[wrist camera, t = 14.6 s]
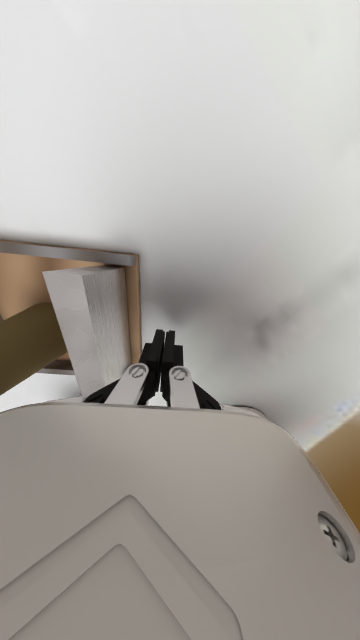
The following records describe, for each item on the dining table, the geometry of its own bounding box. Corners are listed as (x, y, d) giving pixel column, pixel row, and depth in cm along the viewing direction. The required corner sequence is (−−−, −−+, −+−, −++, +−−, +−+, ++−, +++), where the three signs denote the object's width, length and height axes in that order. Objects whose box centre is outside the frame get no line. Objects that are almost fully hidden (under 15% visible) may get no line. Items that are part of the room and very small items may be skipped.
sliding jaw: (124, 267, 12) (81, 275, 7) (131, 365, 18) (110, 413, 12) (102, 265, 12) (42, 271, 7) (115, 364, 17) (87, 412, 12)
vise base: (138, 254, 13) (100, 252, 7) (141, 365, 19) (123, 418, 13) (-59, 233, 12) (-307, 209, 6) (10, 356, 18) (-78, 407, 12)
